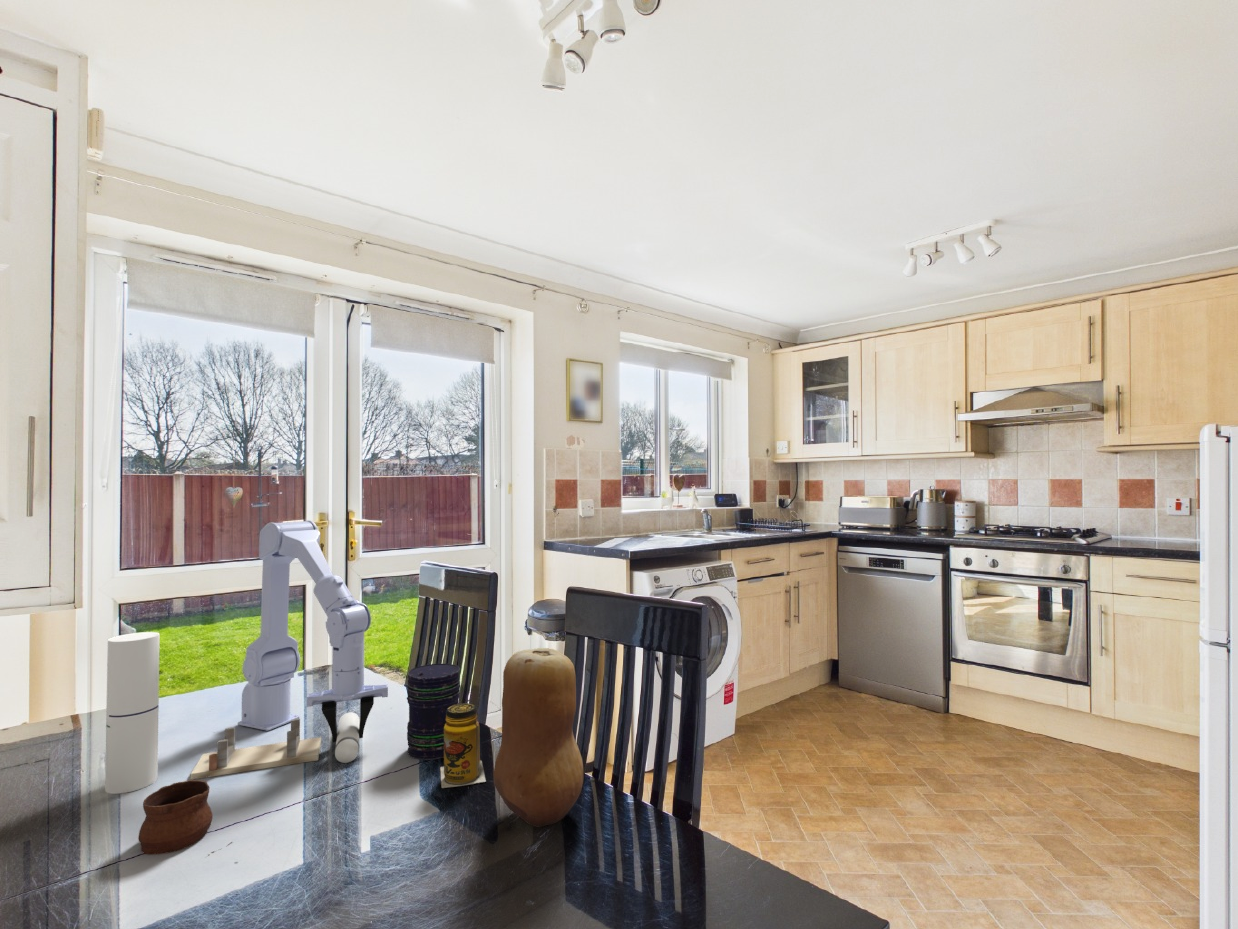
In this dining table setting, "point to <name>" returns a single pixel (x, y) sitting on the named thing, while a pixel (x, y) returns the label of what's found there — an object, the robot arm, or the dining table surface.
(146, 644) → the cylindrical container
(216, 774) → the tube stand
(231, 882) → the dining table surface
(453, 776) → the condiment
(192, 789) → the ceramic pot
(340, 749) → the tube
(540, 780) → the butternut squash
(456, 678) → the storage jar
